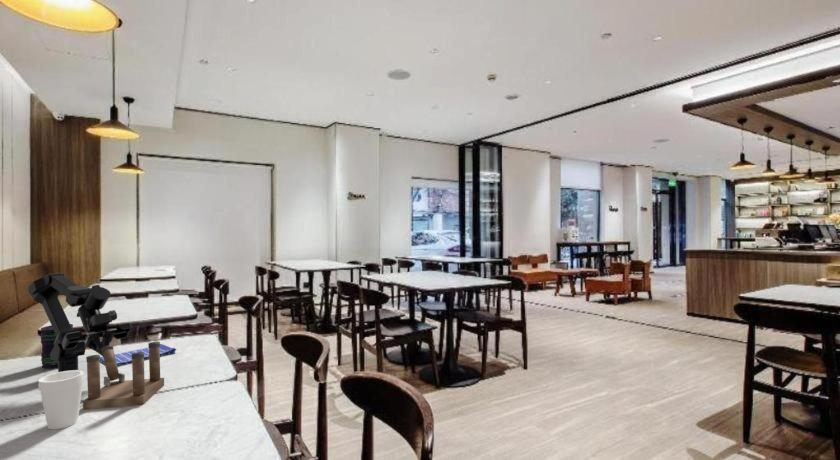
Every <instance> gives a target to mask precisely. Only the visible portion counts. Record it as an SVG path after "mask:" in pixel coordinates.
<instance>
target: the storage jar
mask: <svg viewBox="0 0 840 460" xmlns="http://www.w3.org/2000/svg"><path fill="white" fill-rule="evenodd" d="M70 325H71V327H72V329H74V324H73V323H70ZM55 339H56V334H55V332H54V330H53V327H52V325H46V326H43V327H40V344H41V354H40V357H41V359H40V361H41V369H42V368H44V369H43V370H56V369H58V361H54V360H51V357H50V353H51V351H52V350H53V348H54V342H55ZM55 368H56V369H55Z"/></svg>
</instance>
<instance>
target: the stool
mask: <svg viewBox="0 0 840 460" xmlns="http://www.w3.org/2000/svg"><path fill="white" fill-rule="evenodd" d="M160 344H161V342H160V341H152V342H149V343H148V344H147V345H148V346H147V347H149V360H148V361H149V363H148V364H149V365H148V366H149V367H148V368H149V370H148V371H149V378H145V361H144V352H136V353H133V354H132V363H131V367H132V369H131V370H132V371H131V372H132V379H128V380H126V379H125V378H126V377H125V373H122V372H119V376H120V378H119V379H118V380H113V381H110V378H108V376H103V385H104V386H103V387H101V366H100V365H101V362H100V357H101V355H100V354H93V355H88V356H86V374H87V397H86V398H85V399H84V400H83V401H82V409H83V410H93V409H96V410H97V409H105V408H117V407H127V406H128V407H129V406H140V405H141V406H142V405H145V404H146V403H147V402H148V401H149V400H150V399H151V398H153V396H155V394H156V393H157V392H159V391H160V390H161V389H162V388H163V387H164V386H165V377H161V359H160V358H161V357H160Z"/></svg>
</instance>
